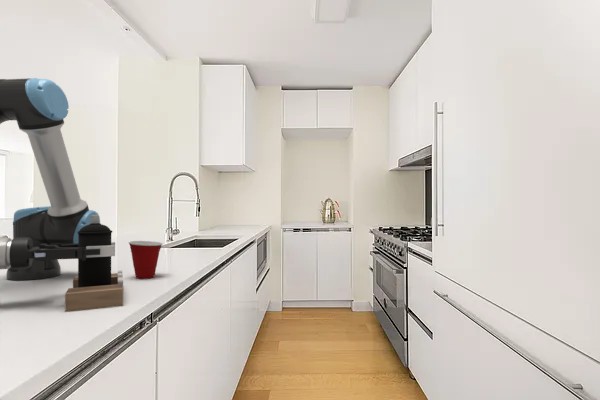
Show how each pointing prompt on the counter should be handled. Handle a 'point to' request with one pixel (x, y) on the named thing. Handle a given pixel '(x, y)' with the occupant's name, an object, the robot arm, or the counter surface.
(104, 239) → the aerosol can
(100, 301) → the cutout stand
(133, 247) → the plastic cup
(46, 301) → the counter surface
